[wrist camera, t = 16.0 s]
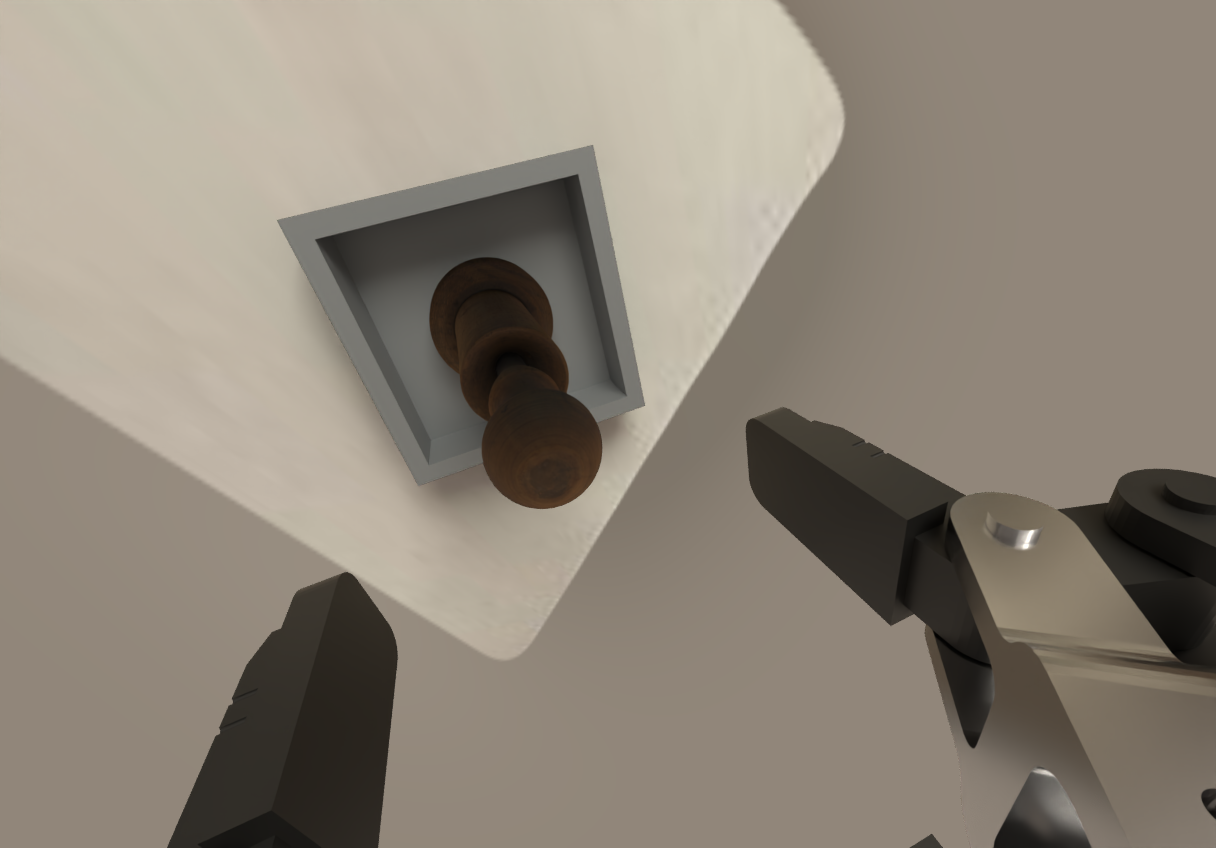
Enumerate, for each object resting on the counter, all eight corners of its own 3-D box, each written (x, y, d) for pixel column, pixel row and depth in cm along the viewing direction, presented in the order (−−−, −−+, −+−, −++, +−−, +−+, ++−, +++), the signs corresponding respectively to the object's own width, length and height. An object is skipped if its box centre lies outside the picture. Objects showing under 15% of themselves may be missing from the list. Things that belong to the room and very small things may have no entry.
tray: (422, 453, 29) (418, 486, 25) (303, 219, 22) (276, 220, 18) (623, 384, 31) (645, 405, 28) (572, 154, 24) (593, 145, 21)
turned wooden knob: (537, 378, 28) (647, 581, 13) (426, 366, 26) (391, 599, 10) (554, 268, 26) (715, 353, 10) (433, 245, 23) (403, 308, 8)
